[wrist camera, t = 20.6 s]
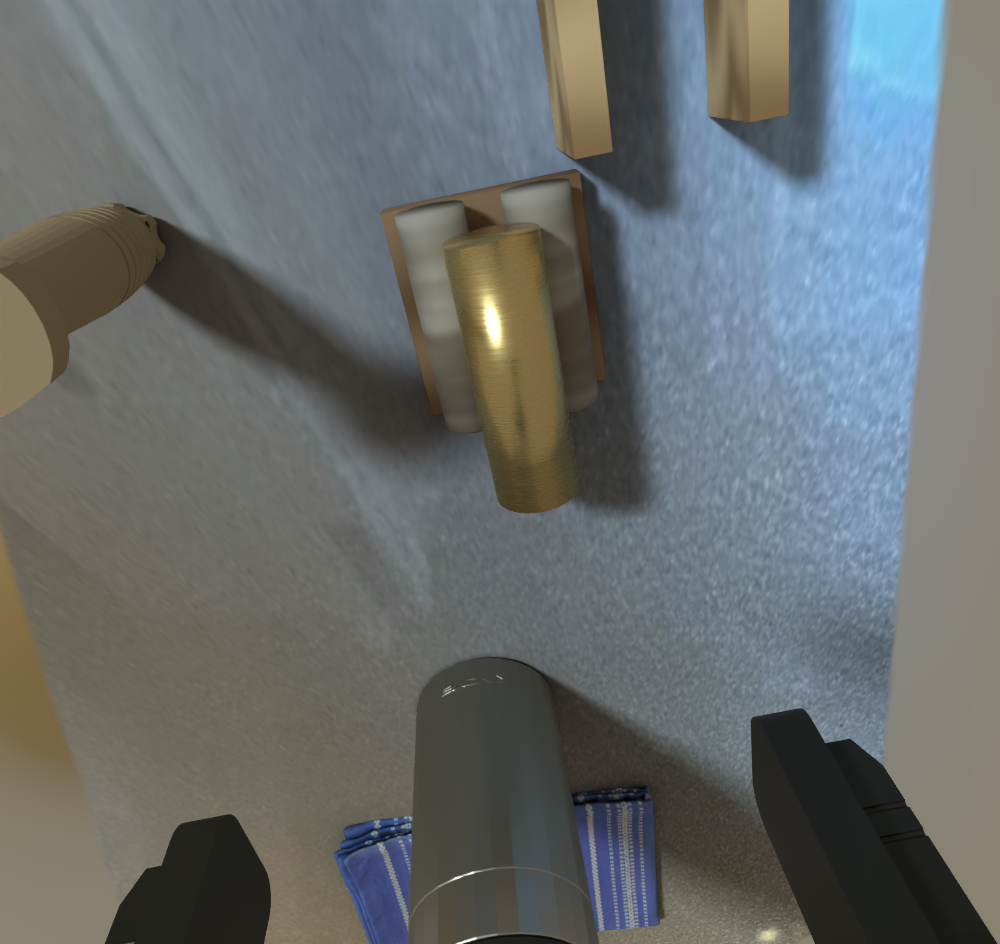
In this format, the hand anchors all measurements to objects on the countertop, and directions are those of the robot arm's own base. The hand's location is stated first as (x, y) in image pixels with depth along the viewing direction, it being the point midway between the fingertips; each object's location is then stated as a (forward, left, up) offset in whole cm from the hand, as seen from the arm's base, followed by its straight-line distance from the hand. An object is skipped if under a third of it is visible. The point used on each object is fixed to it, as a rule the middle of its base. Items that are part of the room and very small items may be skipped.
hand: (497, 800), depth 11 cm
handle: (+6, +14, -28) cm, 32 cm away
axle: (-2, -2, -23) cm, 23 cm away
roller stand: (0, -2, -28) cm, 28 cm away
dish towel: (-45, +6, -29) cm, 54 cm away
